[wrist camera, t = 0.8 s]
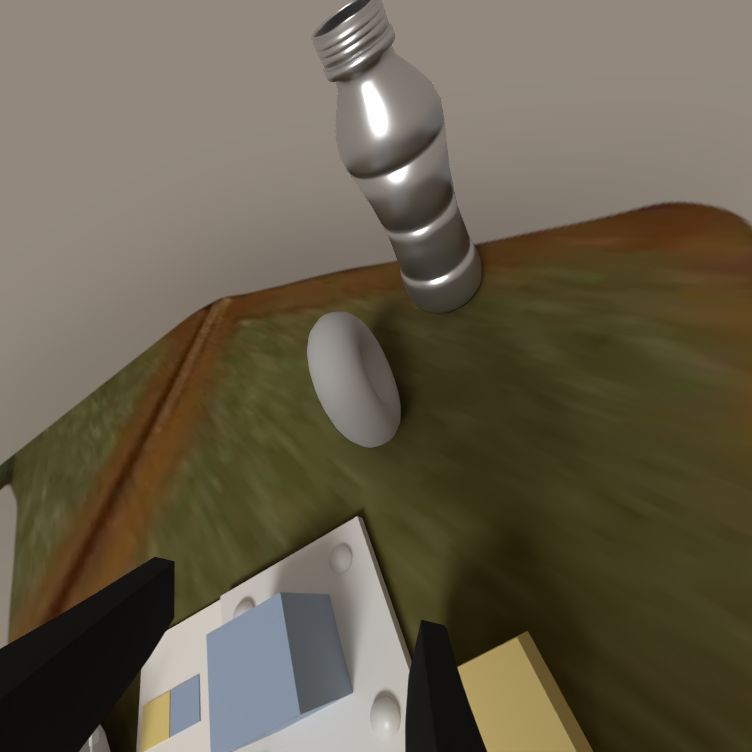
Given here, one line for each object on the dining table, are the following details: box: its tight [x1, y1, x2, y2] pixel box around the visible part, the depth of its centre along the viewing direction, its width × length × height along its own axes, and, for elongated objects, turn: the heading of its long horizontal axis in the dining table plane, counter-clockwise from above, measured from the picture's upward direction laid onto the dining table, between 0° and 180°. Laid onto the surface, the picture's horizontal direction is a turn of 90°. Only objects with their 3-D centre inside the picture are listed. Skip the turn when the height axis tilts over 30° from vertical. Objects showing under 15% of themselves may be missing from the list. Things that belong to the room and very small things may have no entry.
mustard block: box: [457, 631, 593, 752], centre depth 15 cm, size 5×5×5 cm
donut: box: [307, 312, 401, 448], centre depth 25 cm, size 10×4×10 cm, turn 9°
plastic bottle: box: [311, 0, 481, 313], centre depth 25 cm, size 6×7×20 cm
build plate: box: [220, 516, 412, 752], centre depth 21 cm, size 12×12×1 cm
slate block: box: [206, 592, 353, 752], centre depth 19 cm, size 5×5×5 cm
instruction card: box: [136, 599, 222, 752], centre depth 23 cm, size 10×8×1 cm
